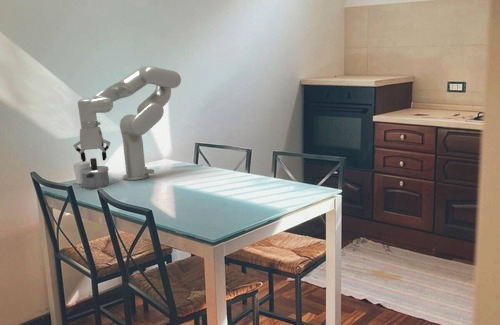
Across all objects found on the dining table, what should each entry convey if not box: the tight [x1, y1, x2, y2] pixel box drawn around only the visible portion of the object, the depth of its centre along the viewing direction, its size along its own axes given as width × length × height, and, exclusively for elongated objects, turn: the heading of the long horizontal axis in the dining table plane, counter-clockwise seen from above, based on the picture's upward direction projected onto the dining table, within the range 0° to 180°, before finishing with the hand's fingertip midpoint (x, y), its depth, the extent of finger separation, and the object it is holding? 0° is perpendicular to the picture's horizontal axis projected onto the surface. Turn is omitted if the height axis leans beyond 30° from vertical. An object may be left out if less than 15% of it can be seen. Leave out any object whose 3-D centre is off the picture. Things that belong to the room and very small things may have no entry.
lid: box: [80, 157, 109, 174], centre depth 256 cm, size 13×13×8 cm
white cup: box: [72, 160, 91, 185], centre depth 264 cm, size 8×8×10 cm
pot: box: [81, 170, 110, 190], centre depth 258 cm, size 12×17×7 cm
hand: (94, 160), depth 256 cm, fingers open, 9 cm apart
